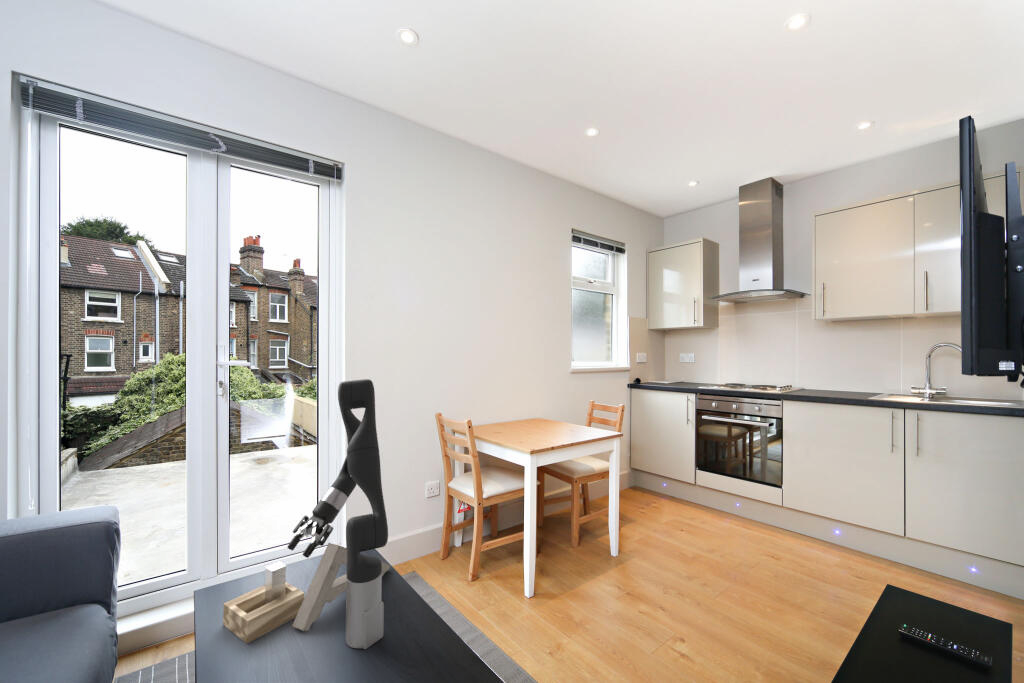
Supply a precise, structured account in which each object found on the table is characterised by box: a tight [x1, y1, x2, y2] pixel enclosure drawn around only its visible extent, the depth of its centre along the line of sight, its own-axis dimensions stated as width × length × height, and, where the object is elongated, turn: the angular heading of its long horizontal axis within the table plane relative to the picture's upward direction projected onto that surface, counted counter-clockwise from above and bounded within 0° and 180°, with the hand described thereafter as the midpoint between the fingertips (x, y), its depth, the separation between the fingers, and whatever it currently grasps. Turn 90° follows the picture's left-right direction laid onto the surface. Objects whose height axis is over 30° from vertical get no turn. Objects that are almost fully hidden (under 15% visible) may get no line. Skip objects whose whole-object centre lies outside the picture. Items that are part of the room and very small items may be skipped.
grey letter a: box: [291, 542, 391, 632], centre depth 135 cm, size 22×4×30 cm
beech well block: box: [222, 582, 305, 644], centre depth 124 cm, size 14×16×6 cm
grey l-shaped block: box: [264, 561, 287, 605], centre depth 124 cm, size 4×10×13 cm, turn 146°
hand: (297, 552), depth 132 cm, fingers open, 8 cm apart
